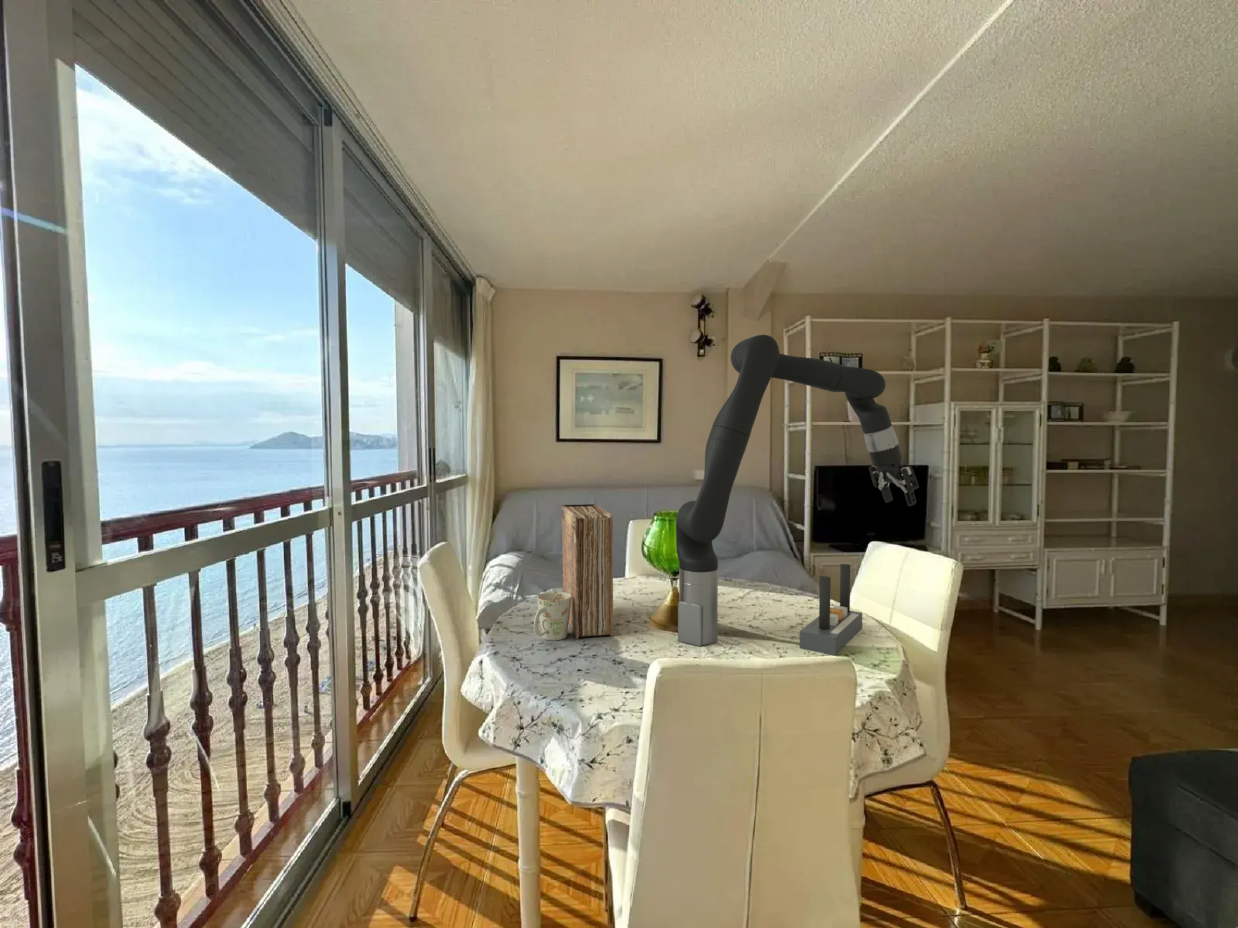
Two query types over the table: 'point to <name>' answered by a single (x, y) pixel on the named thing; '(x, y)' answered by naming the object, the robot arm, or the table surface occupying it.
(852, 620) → the switch panel
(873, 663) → the table surface
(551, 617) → the mug
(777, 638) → the table surface
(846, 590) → the post
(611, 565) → the book
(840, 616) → the orange paddle
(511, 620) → the table surface
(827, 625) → the post
